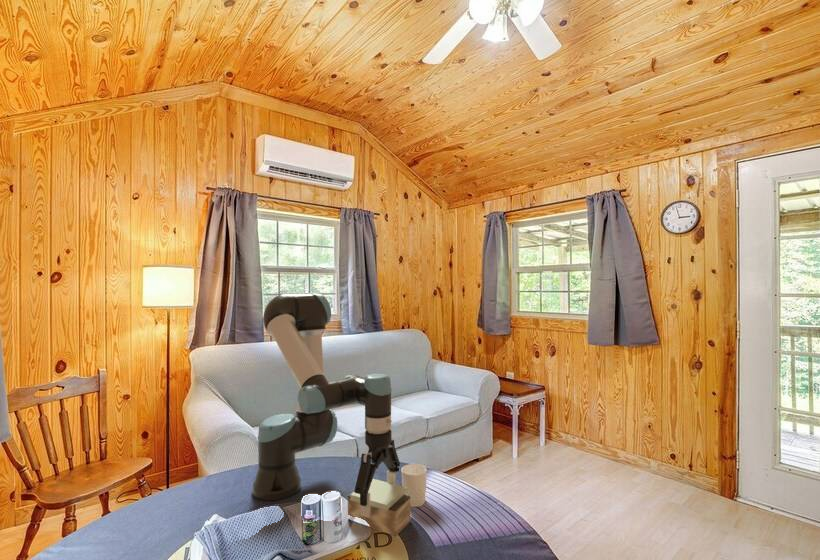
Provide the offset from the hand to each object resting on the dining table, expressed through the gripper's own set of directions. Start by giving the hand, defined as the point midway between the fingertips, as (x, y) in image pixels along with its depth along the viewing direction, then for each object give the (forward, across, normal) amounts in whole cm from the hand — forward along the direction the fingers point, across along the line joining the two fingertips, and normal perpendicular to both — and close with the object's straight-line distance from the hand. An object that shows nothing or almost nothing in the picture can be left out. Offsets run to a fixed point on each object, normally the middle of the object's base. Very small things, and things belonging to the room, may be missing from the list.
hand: (379, 504), depth 118 cm
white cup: (+5, +14, -4) cm, 15 cm away
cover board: (-2, 0, 0) cm, 2 cm away
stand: (+5, 0, 0) cm, 5 cm away
